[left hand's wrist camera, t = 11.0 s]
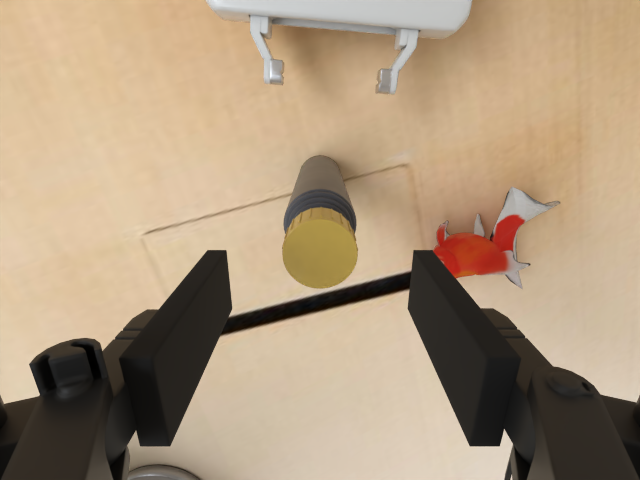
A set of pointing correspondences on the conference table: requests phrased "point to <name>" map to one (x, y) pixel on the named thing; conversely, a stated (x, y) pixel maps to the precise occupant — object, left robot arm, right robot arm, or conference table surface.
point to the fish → (490, 241)
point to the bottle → (320, 191)
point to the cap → (320, 248)
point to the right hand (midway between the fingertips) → (329, 89)
